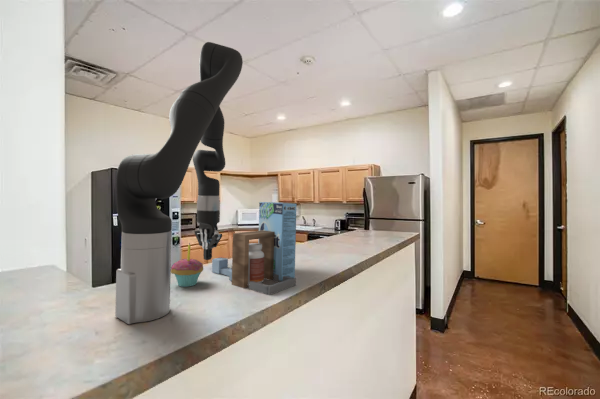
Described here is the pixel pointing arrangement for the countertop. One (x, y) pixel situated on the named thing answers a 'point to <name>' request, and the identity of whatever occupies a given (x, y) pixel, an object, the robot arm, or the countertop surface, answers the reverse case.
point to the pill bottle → (256, 263)
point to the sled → (221, 267)
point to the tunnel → (242, 255)
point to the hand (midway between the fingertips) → (207, 259)
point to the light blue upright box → (280, 234)
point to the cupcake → (187, 270)
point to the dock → (273, 288)
